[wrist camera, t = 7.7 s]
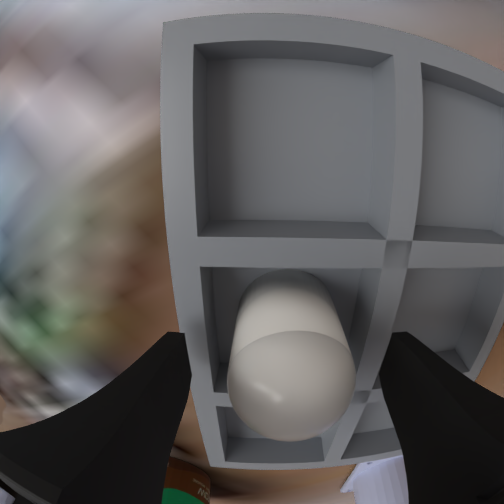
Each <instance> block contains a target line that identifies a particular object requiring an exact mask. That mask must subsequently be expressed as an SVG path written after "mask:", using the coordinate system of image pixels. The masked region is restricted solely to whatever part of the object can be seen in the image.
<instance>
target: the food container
mask: <svg viewBox="0 0 504 504" xmlns="http://www.w3.org/2000/svg"><path fill="white" fill-rule="evenodd" d="M210 487H211V480H210V478H209V476H208V475H207V474H206V473H205V472H204V471H202V470H200V469H199V468H197V467H195V466H193V465H191V464H189V463H187V462H184V461H182V460H179V459H176V458H173V457H170V456H169V461H168V466H167V471H166V477H165V483H164V489H163V496H162V504H210Z"/></svg>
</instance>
